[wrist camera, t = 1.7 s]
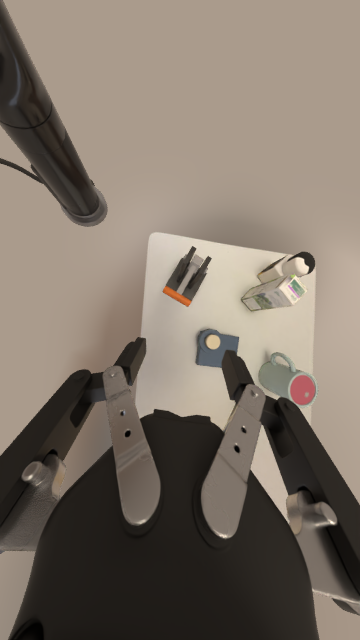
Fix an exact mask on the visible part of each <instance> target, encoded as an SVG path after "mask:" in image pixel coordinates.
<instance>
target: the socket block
mask: <svg viewBox="0 0 360 640" xmlns="http://www.w3.org/2000/svg"><path fill="white" fill-rule="evenodd" d="M210 334H212V335H216V336H218V337H219V339H220V345H219V347H218V348H217V349H210V348H208V347H207V346H206V345H205V338H206V337H207V336H208V335H210ZM238 342H239V337H235V336H229V335H223V334H220V333H219V332H218V331H217V330H213V329H207V330H204V331H200V335H199V338H198V351H197V358H196V364H197V365H203V366H211V367H220V368H222V366H221V362H222V359H223V356H224V353H225V351H226V350H234V351H235V352H236V354H237V349H238Z"/></svg>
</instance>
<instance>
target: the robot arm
mask: <svg viewBox="0 0 360 640" xmlns="http://www.w3.org/2000/svg"><path fill="white" fill-rule="evenodd" d="M0 125H1V126H2V128H3V129H4V130H5V131H6V133H7V134H8V135H9V136H10V138H11V139H12V140H13V141H14V142H15V144H16V145H17V146H18V148H19V149H20V150H21V151H22V153H23V154H24V155H25V156H26V158H27V159H28V160H29V161H30V163H31V168H32V170H33V172H34V173H35V174H36V175H37V176H38V177H37V176H35V175H34V174H32V173H30V172H29V171H27V170H25V169H23V168H22V167H20V166H18V165H16V164H14V163H11V162H9V161H6V160H4V159H1V158H0V163H1V164H4V165H7V166H10V167H12V168H14V169H17V170H19V171H21V172H23V173H24V174H26V175H28V176H30V177H31V178H33V179H35V180H37V181H38V182H40V183H42V184H44V185H45V186H46V187H47V188H48V190H49V191H50V192H51V193H52V194H53V196H54V197H55V198H56V199H57V201H58V202H59V203H60V204H61V205H62V207H63V208H64V209H67V210H68V211H69V212H70V213H71V214H72V215H74V216H76V217H78V218H83V219H87V218H91V217H94V216H95V215H96V214H97V213H98V212H99V210H100V208H101V201H100V198H99V196H98V194H97V193H96V191H95V189H94V187H93V185H94V183H93V181H92V180H90V179H89V176H88V174H87V172H86V170H85V168H84V166H83V164H82V162H81V160H80V158H79V156H78V154H77V152H76V150H75V148H74V146H73V144H72V141H71V140H70V137H69V136H68V133H67V131H66V129H65V127H64V125H63V123H62V121H61V119H60V117H59V115H58V113H57V111H56V109H55V107H54V105H53V103H52V101H51V98H50V96H49V95H48V92H47V90H46V88H45V86H44V84H43V82H42V80H41V78H40V76H39V74H38V72H37V70H36V68H35V66H34V64H33V62H32V60H31V58H30V56H29V54H28V52H27V50H26V48H25V46H24V44H23V41H22V39H21V38H20V35H19V33H18V31H17V29H16V27H15V25H14V23H13V21H12V19H11V17H10V14H9V12H8V10H7V8H6V6H5V4H4V2H3V0H0ZM94 186H95V185H94ZM145 354H146V338H140V337H138V338H137V339H136V341H135V342H130V343H129V344H128V345H127V346H126V347H125V349H124V350H123V352H122V353H121V355H120V356H119V358H118V360H117V361H116V363H115V364H114V365H113V366H111V367H109V368H107V369H106V370H105V371H104V372H101V373H93V374H91V372H90V371H89V370H79V371H76V372H75V373H73V374H72V375H70V377H69V378H68V379H67V380H66V381H65V382H64V383H63V384H62V386H61V387H60V388H59V389H58V390H57V391H56V393H55V394H54V395H53V396H52V397H51V398H50V399H49V401H48V402H47V403H46V404H45V405H44V406H43V408H42V409H41V410H40V411H39V412H38V413H37V414H36V416H35V417H34V418H33V419H32V420H31V421H30V422H29V424H28V425H27V426H26V427H25V428H24V429H23V431H22V432H21V433H20V434H19V435H18V436H17V438H16V439H15V440H14V441H13V442H12V443H11V444H10V446H9V447H8V448H7V449H6V450H5V451H4V452H3V454H2V455H1V456H0V554H1V553H2V552H4V551H36V552H35V557H34V562H33V566H32V571H31V575H30V578H29V582H28V586H27V589H26V592H25V595H24V598H23V602H22V605H21V607H20V610H19V613H18V616H17V618H16V621H15V624H14V626H13V629H12V632H11V634H10V636H9V639H8V640H319V635H318V630H317V625H316V618H315V609H314V600H313V593H316V594H320V595H323V596H326V597H330V598H332V599H333V601H334V602H335V603H336V604H337V605H338V606H339V607H341V608H342V609H343V610H345V611H347V612H350V613H354V614H357V615H360V505H359V503H358V502H357V500H356V498H355V497H354V495H353V494H352V492H351V490H350V489H349V487H348V486H347V484H346V482H345V481H344V479H343V478H342V476H341V474H340V473H339V471H338V470H337V468H336V466H335V465H334V463H333V462H332V460H331V458H330V457H329V455H328V454H327V452H326V450H325V449H324V447H323V446H322V444H321V442H320V441H319V439H318V438H317V436H316V434H315V433H314V431H313V430H312V428H311V426H310V425H309V423H308V422H307V420H306V418H305V417H304V415H303V414H302V412H301V411H300V409H299V408H298V406H297V405H296V404H295V403H294V402H292V401H291V400H289V399H287V398H285V397H280V398H279V399H278V400H276V399H273V398H271V397H269V396H266V395H265V394H264V392H263V391H262V390H261V389H260V388H259V387H258V386H256V385H255V384H254V382H253V379H252V377H251V375H250V373H249V371H248V369H247V367H246V365H245V362H244V361H243V360H242V359H241V357H239V356H237V354H236V352H235V351H234V350H226V351H225V353H224V356H223V359H222V362H221V366H222V370H223V374H224V378H225V382H226V386H227V390H228V393H229V397H230V400H235V402H236V405H235V406H234V408H233V411H232V413H231V415H230V417H229V419H228V421H227V423H226V425H225V427H224V429H223V431H222V430H221V429H220V428H219V427H218V426H217V425H215V424H214V423H212V422H211V421H210V417H208V416H201V415H193V416H187V417H180V416H178V415H176V414H174V413H171V412H169V411H165V410H158V409H154V413H153V414H149V415H146V416H144V417H142V418H141V419H139V416H138V413H137V409H136V406H135V403H134V400H133V397H132V394H131V391H130V390H129V388H128V385H130V386H132V385H133V383H134V380H135V378H136V376H137V373H138V371H139V369H140V366H141V364H142V362H143V359H144V357H145ZM104 400H106V405H107V412H108V418H109V425H110V431H111V437H112V444H113V445H112V447H110V448H109V449H108V450H107V451H106V452H105V453H104V454H103V455H102V456H101V457H100V458H99V459H98V460H97V461H96V462H95V463H94V464H93V465H92V466H91V467H90V468H89V469H88V470H87V471H86V472H85V473H84V474H83V475H82V476H81V477H80V478H79V479H78V480H77V481H76V482H75V483H74V484H73V485H72V486H71V487H70V488H69V489H68V490H67V491H66V492H65V494H64V495H63V496H62V497H61V499H60V488H61V484H62V482H63V479H64V477H65V474H66V466H65V464H64V463H63V460H64V459H65V457H66V455H67V453H68V451H69V450H70V448H71V446H72V444H73V442H74V440H75V439H76V437H77V435H78V433H79V431H80V430H81V428H82V426H83V424H84V422H85V421H86V419H87V417H88V415H89V413H90V411H91V410H92V408H93V406H94V404H95V402H99V401H104ZM261 424H262V425H263V426H264V429H265V432H266V434H267V437H268V440H269V443H270V445H271V448H272V451H273V454H274V456H275V459H276V462H277V465H278V468H279V470H280V473H281V476H282V479H283V481H284V484H285V487H286V490H287V492H288V495H289V496H288V497H287V499H286V507H287V516H288V519H289V524H290V526H289V524H288V522H287V521H286V519H285V518H284V516H283V515H282V514H281V512H280V511H279V509H278V508H277V506H276V505H275V504H274V502H273V501H272V499H271V498H270V496H269V495H268V494H267V492H266V491H265V489H264V488H263V487H262V485H261V484H260V482H259V481H258V479H257V478H256V477H255V475H254V474H253V472H252V471H251V470H250V468H251V464H252V460H253V456H254V452H255V448H256V444H257V440H258V436H259V432H260V428H261Z"/></svg>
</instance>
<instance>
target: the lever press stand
mask: <svg viewBox="0 0 360 640" xmlns="http://www.w3.org/2000/svg"><path fill="white" fill-rule="evenodd" d="M195 250H196V248H195V247H193V246H192V248H191V249H190V251H189V253H188V255H185V256H184V258H182V259H181V260H180V262H179V264H178V266H177V267H176V269H175V271H174V272H173V274H172V276H171V278H170V279H169V281H168V283H167V284H166V286H167V287H169V288H171V289H172V290H174V291H176V292H177V290H178V288H179V286H180V285H181V283H182V281H183V280H184V278H185V276H186V275H187V273H188V271H189V270H188V267H189V265H190V261H191V259H192V257H193V255H194V253H195ZM211 259H212V258H210V257H209V256H208V257H207V258H206V260H205V261H204V263H203V264H202V265H201V267H200V268H199V269H198V270H197V272H196V274H195V273H193V275H192V276H191V278H190V280H189V282H188V284H187V286H186V287H185V289H184V291H183V293H182V296H184V297H186V298H188V299H189V300H191V301H192V299H193V297H194V296H195V294H196V292H197V290H198V288H199V287H200V285H201V283H202V281H203V279H204V277H205V276H206V274H207V273H206V271H207V270H208V268H207V266H208V264H209V262H210V261H211Z"/></svg>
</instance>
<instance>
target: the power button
mask: <svg viewBox="0 0 360 640" xmlns="http://www.w3.org/2000/svg"><path fill="white" fill-rule="evenodd" d="M205 345H206V346H207V347H208V348H210V349H217V348H218V347H219V345H220V339H219V337H218V336H216V335H212V334H210V335H208V336H207V337H206V338H205Z"/></svg>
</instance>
